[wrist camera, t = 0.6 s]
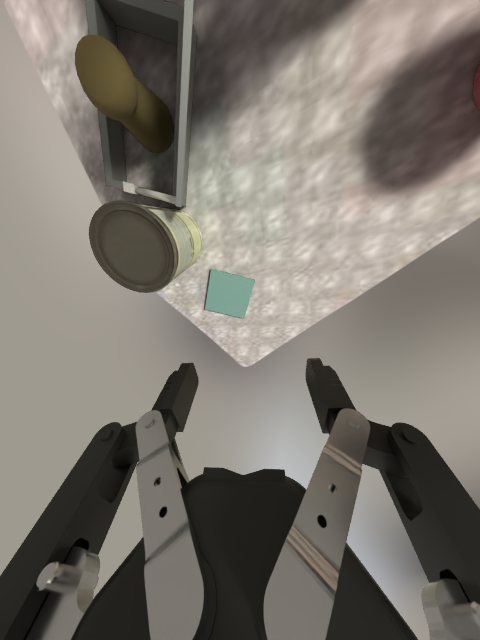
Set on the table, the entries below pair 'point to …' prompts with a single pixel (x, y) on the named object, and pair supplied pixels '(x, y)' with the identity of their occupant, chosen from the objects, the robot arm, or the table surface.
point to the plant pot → (477, 87)
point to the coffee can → (143, 244)
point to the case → (176, 27)
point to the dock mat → (228, 293)
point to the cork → (122, 93)
